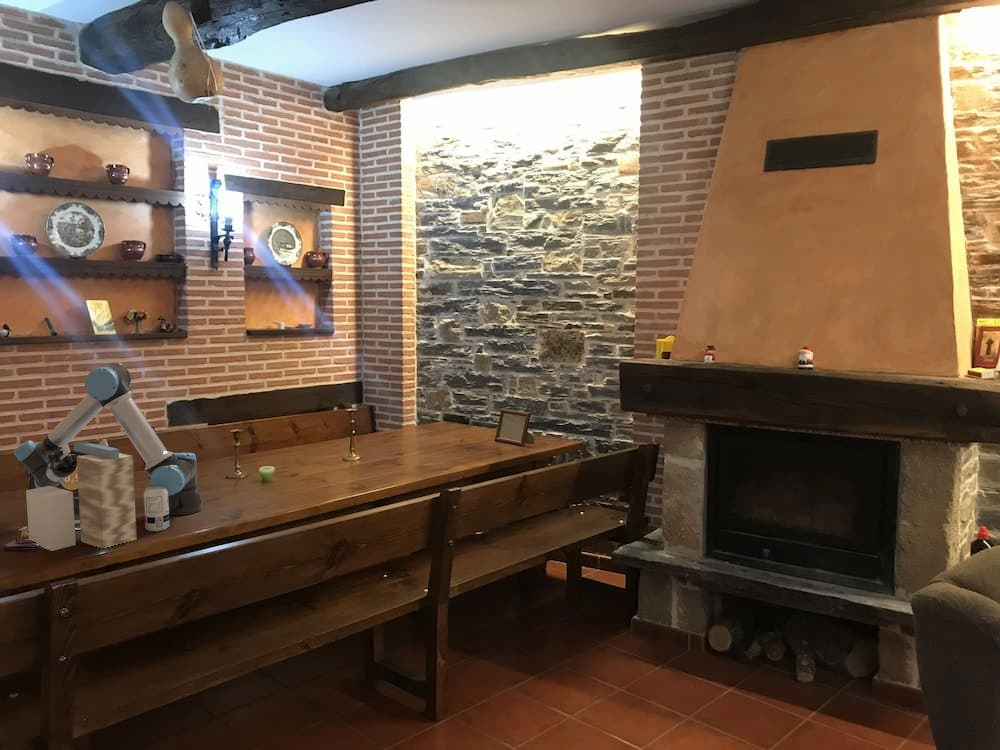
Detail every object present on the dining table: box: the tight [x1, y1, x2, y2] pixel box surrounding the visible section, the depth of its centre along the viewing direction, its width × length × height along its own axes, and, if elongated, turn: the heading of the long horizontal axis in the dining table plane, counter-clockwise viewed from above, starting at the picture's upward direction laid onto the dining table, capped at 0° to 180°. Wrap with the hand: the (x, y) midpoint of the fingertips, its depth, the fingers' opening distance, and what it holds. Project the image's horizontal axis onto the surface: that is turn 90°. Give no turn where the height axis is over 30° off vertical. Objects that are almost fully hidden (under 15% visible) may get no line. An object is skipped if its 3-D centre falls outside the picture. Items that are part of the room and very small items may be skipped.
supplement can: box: [143, 486, 170, 532], centre depth 296 cm, size 8×8×15 cm
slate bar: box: [73, 441, 120, 459], centre depth 282 cm, size 3×23×3 cm, turn 56°
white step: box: [25, 486, 76, 552], centre depth 277 cm, size 8×15×18 cm, turn 56°
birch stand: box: [76, 452, 138, 549], centre depth 280 cm, size 12×14×30 cm
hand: (87, 445), depth 284 cm, fingers open, 13 cm apart
